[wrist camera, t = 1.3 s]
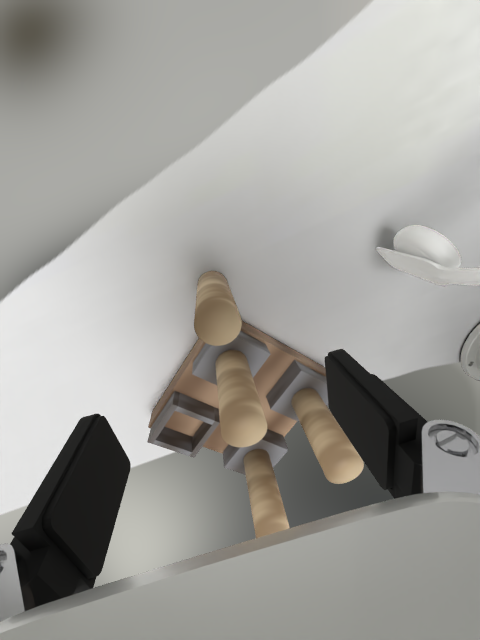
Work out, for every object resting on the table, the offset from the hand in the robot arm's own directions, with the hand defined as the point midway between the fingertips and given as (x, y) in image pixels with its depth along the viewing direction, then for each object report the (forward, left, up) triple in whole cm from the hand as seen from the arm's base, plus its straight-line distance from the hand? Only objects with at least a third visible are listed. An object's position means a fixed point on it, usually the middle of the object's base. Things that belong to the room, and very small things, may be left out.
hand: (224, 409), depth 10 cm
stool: (-11, +11, -21) cm, 26 cm away
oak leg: (0, 0, -21) cm, 21 cm away
